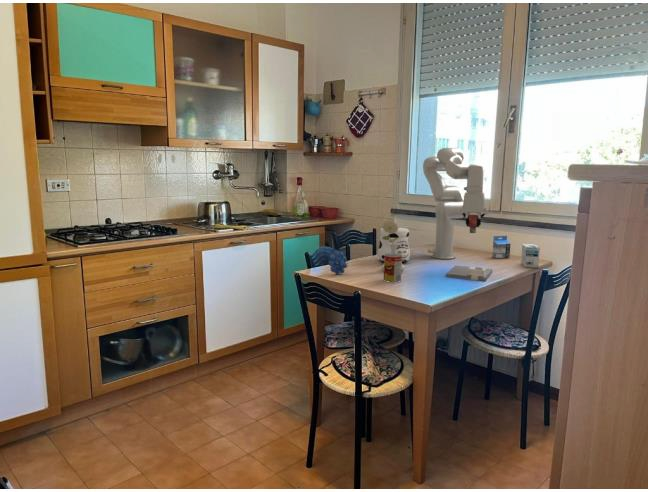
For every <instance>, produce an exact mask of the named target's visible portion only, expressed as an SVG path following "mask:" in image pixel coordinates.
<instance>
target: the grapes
mask: <svg viewBox="0 0 648 492" xmlns="http://www.w3.org/2000/svg"><path fill="white" fill-rule="evenodd" d="M328 265H329V266H330V269H329V270H330V271H331V272H332V273H334V274H335V273H336V274H335V275H337V274H339V275H340V274H344V273H345V269H346V268H348V264H347V257H346V256H345V255H344V252H343V251H338V250H334V251H333V253H331V254H330V255H329V260H328Z"/></svg>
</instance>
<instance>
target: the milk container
mask: <svg viewBox="0 0 648 492" xmlns="http://www.w3.org/2000/svg"><path fill="white" fill-rule="evenodd" d="M397 230H398V231H397V232H396V233H392V234H391V233H390V234H389V233H388V232H385V231H384V229H383V227H381V228H380V231H379V246H378V249H377V257H378V260H379V261H380V262H383V263H384V254H388V253H391V247H390V245H389V243H392V242H393V243H399V245H398V246H397V249H396V254H401V255H402V264H403V263H407V262H408V261H409V260H410V257H411V250H410V230H409V228H406V227H399V226H398V229H397ZM384 236H387V237H389V236H390V238H389V240H384V239H382V238H383V237H384ZM398 237H399V238H398ZM395 238H398V239H397V240H394V241H392V242H391V240H393V239H395ZM390 239H391V240H390Z"/></svg>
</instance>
